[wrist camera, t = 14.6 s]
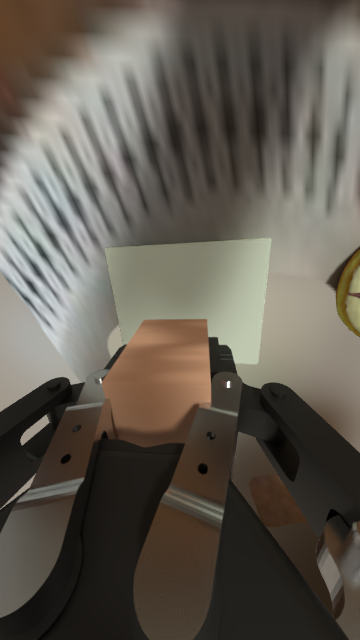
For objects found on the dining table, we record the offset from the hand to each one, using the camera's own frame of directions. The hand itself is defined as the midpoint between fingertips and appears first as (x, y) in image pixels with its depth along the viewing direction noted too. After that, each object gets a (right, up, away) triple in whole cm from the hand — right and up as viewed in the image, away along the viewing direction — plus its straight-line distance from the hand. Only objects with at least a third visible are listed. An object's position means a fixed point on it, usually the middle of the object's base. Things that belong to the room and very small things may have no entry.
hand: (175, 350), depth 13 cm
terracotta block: (0, 0, 0) cm, 1 cm away
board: (+1, +3, +7) cm, 8 cm away
